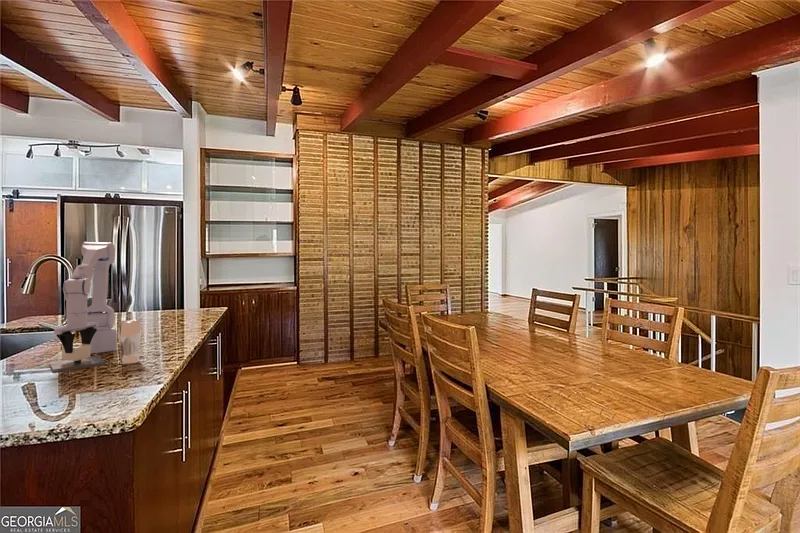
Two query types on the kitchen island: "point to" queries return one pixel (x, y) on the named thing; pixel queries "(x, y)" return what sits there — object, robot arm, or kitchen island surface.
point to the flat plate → (76, 364)
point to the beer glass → (129, 341)
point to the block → (77, 352)
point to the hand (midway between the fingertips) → (77, 350)
